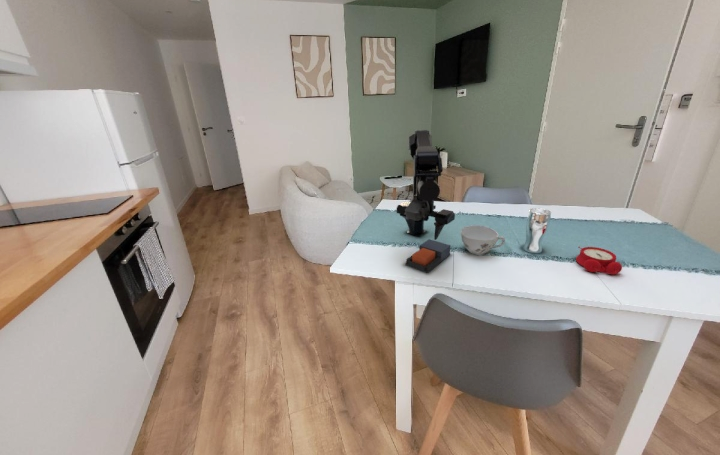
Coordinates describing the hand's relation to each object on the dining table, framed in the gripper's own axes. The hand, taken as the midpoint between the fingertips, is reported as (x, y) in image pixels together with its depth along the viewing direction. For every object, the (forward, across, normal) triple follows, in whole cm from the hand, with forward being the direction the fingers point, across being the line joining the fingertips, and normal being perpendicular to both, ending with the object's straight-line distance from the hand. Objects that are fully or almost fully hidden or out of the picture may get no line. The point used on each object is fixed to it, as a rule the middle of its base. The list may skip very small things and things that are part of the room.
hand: (423, 236), depth 98 cm
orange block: (+10, +1, -1) cm, 10 cm away
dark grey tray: (+10, +1, +3) cm, 10 cm away
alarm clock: (+10, +46, +31) cm, 57 cm away
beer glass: (+10, +27, +32) cm, 43 cm away
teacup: (+10, +13, +19) cm, 26 cm away
